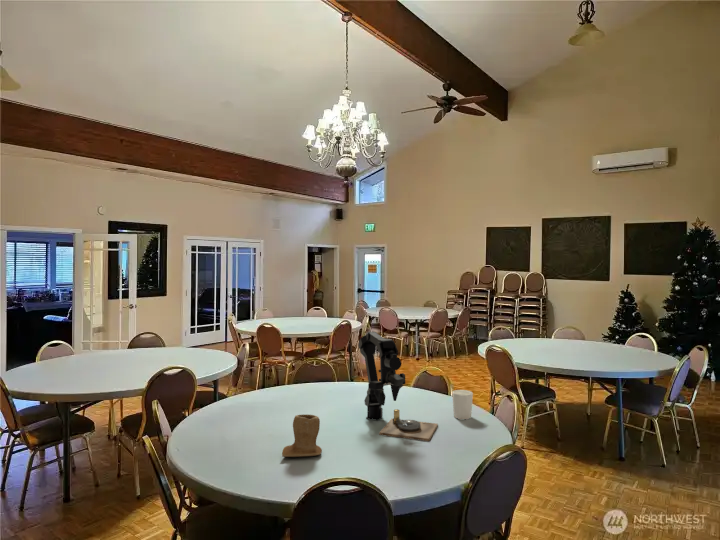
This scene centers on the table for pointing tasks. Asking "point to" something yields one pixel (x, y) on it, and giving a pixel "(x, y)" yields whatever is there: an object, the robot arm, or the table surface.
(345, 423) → the table surface
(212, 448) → the table surface
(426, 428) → the base plate
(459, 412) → the candle holder
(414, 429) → the dial
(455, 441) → the table surface
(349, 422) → the table surface
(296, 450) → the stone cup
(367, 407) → the robot arm
